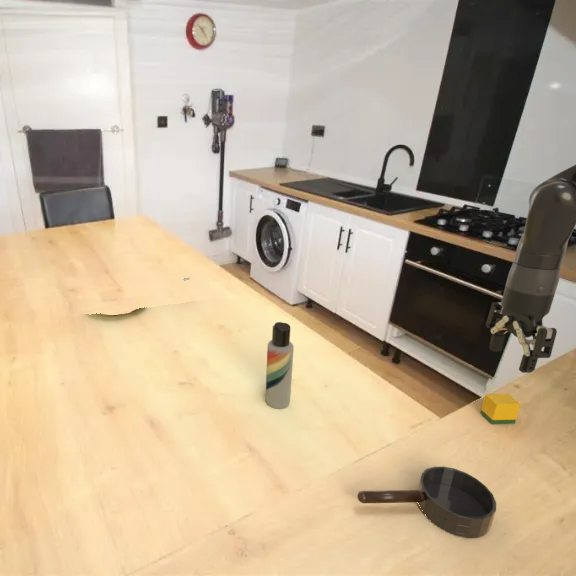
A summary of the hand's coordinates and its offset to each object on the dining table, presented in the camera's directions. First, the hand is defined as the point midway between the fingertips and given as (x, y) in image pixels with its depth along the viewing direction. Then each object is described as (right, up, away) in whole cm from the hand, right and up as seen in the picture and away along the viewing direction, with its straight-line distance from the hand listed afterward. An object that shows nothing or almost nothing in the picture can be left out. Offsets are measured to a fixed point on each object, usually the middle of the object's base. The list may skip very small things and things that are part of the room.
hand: (509, 360), depth 84 cm
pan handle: (-33, -20, -17) cm, 42 cm away
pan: (-23, -22, -17) cm, 35 cm away
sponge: (+1, -13, +4) cm, 14 cm away
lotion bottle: (-45, -12, +12) cm, 48 cm away
